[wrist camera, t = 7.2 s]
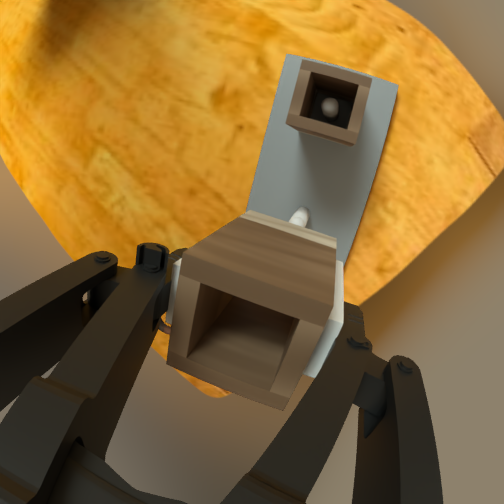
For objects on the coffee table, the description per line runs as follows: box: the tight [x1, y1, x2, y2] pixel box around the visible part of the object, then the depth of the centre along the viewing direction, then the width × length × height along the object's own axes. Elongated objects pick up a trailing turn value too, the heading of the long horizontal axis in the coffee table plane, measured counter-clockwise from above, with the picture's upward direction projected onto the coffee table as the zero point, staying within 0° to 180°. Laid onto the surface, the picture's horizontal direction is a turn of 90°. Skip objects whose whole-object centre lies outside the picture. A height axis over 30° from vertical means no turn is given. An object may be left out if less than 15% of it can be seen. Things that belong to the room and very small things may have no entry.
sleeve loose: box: [167, 210, 337, 411], centre depth 14 cm, size 5×5×8 cm
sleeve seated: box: [285, 59, 373, 147], centre depth 22 cm, size 5×5×8 cm
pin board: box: [246, 54, 398, 267], centre depth 26 cm, size 20×11×7 cm, turn 165°
